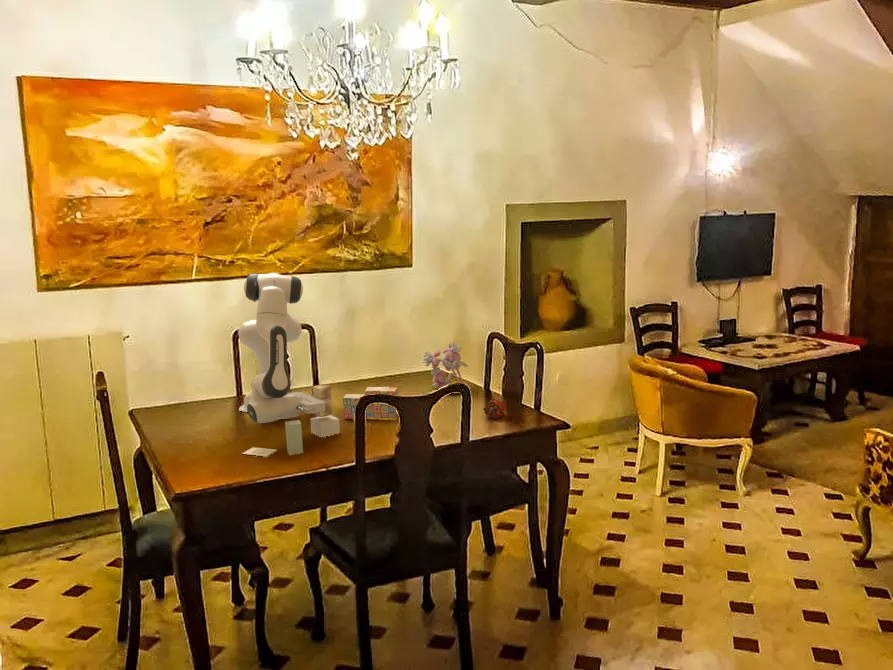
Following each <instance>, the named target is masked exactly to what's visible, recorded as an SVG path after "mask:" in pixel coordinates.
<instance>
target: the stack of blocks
mask: <svg viewBox="0 0 893 670" xmlns="http://www.w3.org/2000/svg"><path fill="white" fill-rule="evenodd" d="M398 392H399V391H398V387H392V386H391V387H390V386H375V387H374V386H367V387H366V389H365V390H364V393H363V394H362V393H361V394H359V393H353V394H352V393H348V394H347V393H346V394H345V395H344V396H343V398H342V405H343V408H342V409H343V420H344V419H353V420H352V421H355V420H354V413H355V407H356V404H357V402H358V400H359V398H360V397H362V396H364V395H369V394H392V395H398V396H399V394H398ZM367 417H368V418H369V417H373V418H393V419H396V417H399V413H398V414H397V412H396V410H395V409H394V408H393V407H391V406H389V405H386V404H371V405H370V406H368V407H367V409H366V418H367ZM396 420H397V419H396Z"/></svg>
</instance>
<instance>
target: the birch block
mask: <svg viewBox="0 0 893 670" xmlns="http://www.w3.org/2000/svg"><path fill="white" fill-rule="evenodd" d="M312 393H313V397H315V398H317V399H319V400H323V399H325V398H328V399H329V400H330V403H329V404H325V411H323V412H318V413H313V414H314V416H316V417H325V416H329V415H331V416H333V401H332V398H333V397H332V386H331V385H328V384H325V383H323V384H320V385H319V384H318V385H313V386H312Z"/></svg>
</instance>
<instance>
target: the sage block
mask: <svg viewBox="0 0 893 670" xmlns="http://www.w3.org/2000/svg"><path fill="white" fill-rule="evenodd" d="M285 437H286V438H285V439H286V440H285V441H286V452H287V454H288V456H294V454H297V455H302V454H301V453H303V454H304V448H303V446H304V445H303V429H302V423H301V421H300V420H299V419H298V420H297V419H296V420H289V421H288V420H287V421H285Z"/></svg>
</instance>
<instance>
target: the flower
mask: <svg viewBox="0 0 893 670" xmlns="http://www.w3.org/2000/svg"><path fill="white" fill-rule="evenodd" d="M458 344H459V341H457V342H456V343H455V341H453V342H450V343H449V344H448V345H447V348H444V349H443V350H442V353H443V354H442V355H441V352H440V350H438V349H437V350H434V351H433V353H431V352H430V351H425V352H424V355H423V358H421V357H419V359H420V360H422V364H424V365H423V366H425V367H429V366H430V365H431V366H432V367H431V368H432V369H431V370H430V374H431V375H432V376H433V377H432V378H433V379H432V380H431V381H432V382H433V383H432V384H431V386H432V387H436V388H437V387H438V388H437V389H439V387H443V386H447V385H448V384H452V383H454V382H453V381H452V379H451V378H452V377H454V376H455V378H456V380H457V382H458V384H459V383H463V379H462V375H461V373H460V370H459V369H460V368H461V367H462V366H463V368H466V367H467V368H468V367H469V365H468V364H466V363H465V362H464V361H462V360H461V359H462V357H461V354H460V353H459V352H461V350H462V349H463V348H462V347H460V346H461V345H460V344H459V345H458ZM440 355H441V356H442V357H440V358H438V357H439V356H440ZM423 361H424V362H423ZM440 363H441V364H440ZM439 365H440V366H442V367H444V368H445V370H444V369H441V368H440V366H439ZM446 371H447V372H450V371H452V372H450V373H449V374H448V375H447V372H446ZM446 375H447V376H446Z"/></svg>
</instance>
